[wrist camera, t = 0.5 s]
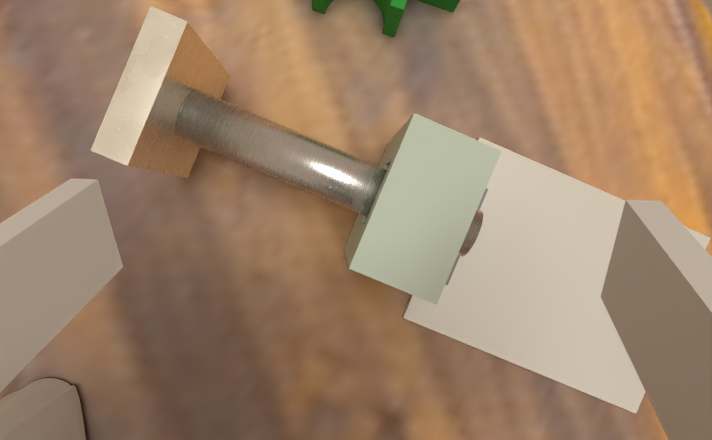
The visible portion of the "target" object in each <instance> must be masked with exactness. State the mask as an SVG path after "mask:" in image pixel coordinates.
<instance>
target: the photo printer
mask: <svg viewBox="0 0 712 440" xmlns="http://www.w3.org/2000/svg"><path fill="white" fill-rule="evenodd" d="M0 440H86V436H85V428H84V421H83V415H82V409H81V403H80V399H79V396H78V392H77V389H76V387H75V386H74V385H71V386H70V384H69V383H67V382H65V381H63V380H59V379H54V378H45V379H40V380H36V381H34V382H32V383H30V384H29V385H27V386H25V387H24V388H22V389H20V390H19V391H15V392H13V393H11V394H9V395H7V396H5V397H4V398H2V399H0Z"/></svg>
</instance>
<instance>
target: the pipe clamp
mask: <svg viewBox="0 0 712 440" xmlns="http://www.w3.org/2000/svg"><path fill="white" fill-rule="evenodd" d="M332 1H333V0H312V8H313V10H315V11H318V12H320V13H323V14H325V11H326V9H327V7H328V6H329V4H330V3H331V2H332ZM373 1H374V2H375V3H376V4H377V5H378V7H379V8H380V10H381V12H382V15H383V20H384V29H383V34H386V35H389V36H391V37H394V36H395V33H396V30H397V28H398V25H399V22H400V19H401V17H402V14H403V11H404V8H405V5H406V2H407V0H373ZM418 1H421V2H424V3H427V4H430V5H433V6H436V7H438V8H441V9H444V10H447V11H450V12H453V11H454V9H455V8H456V6H457V4H458V3H459V1H460V0H418Z"/></svg>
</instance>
